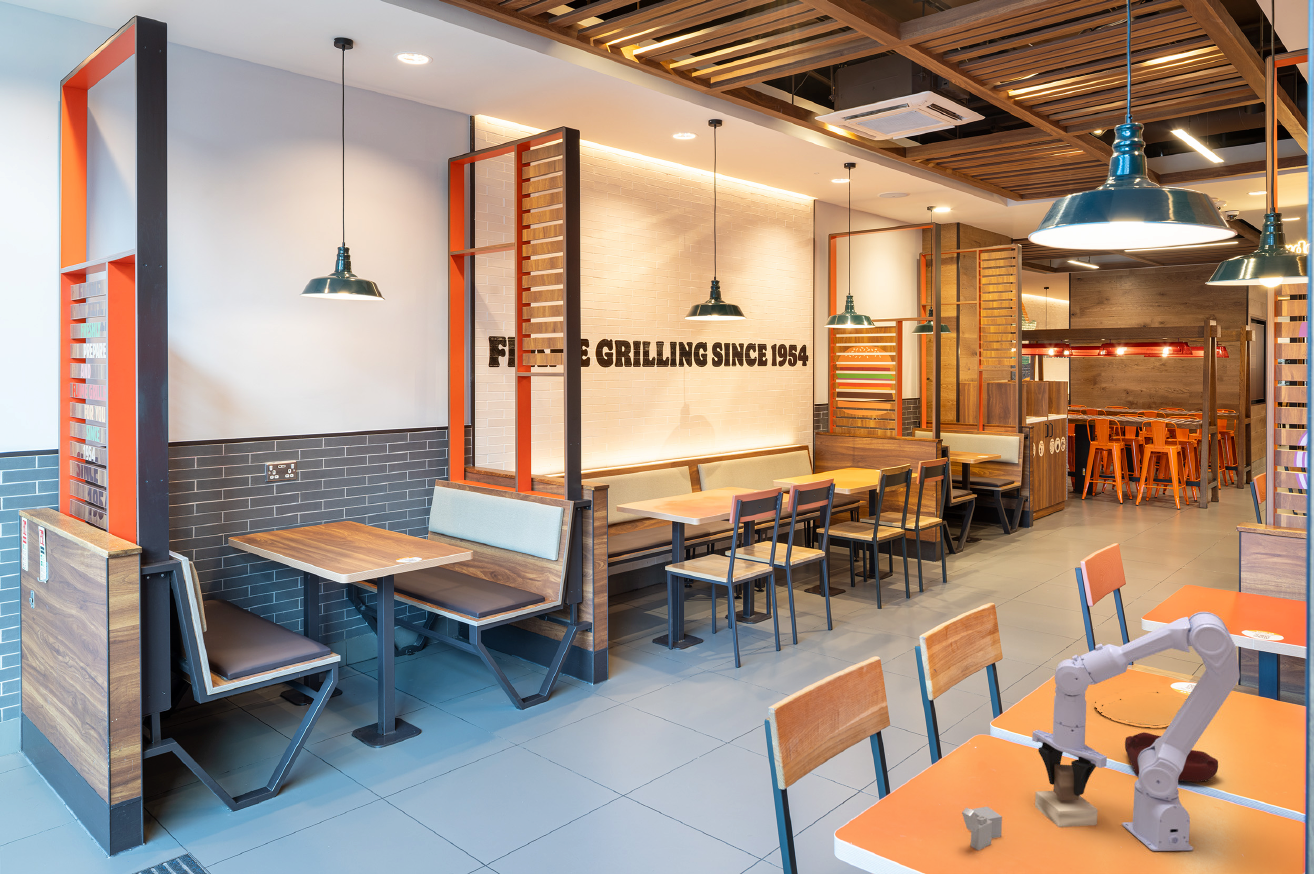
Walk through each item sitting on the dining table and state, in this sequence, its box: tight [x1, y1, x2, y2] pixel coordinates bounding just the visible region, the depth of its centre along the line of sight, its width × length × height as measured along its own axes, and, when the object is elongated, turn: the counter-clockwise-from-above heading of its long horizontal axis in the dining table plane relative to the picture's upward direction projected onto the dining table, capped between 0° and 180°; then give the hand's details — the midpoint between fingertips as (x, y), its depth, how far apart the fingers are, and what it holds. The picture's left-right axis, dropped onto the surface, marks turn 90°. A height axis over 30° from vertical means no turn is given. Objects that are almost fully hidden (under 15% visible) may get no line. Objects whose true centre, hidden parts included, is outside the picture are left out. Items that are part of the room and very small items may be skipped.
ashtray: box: [1124, 732, 1219, 782], centre depth 188 cm, size 18×16×5 cm
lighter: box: [961, 806, 992, 851], centre depth 156 cm, size 7×2×8 cm, turn 125°
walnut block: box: [1052, 764, 1079, 800], centre depth 168 cm, size 4×4×6 cm
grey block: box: [970, 806, 1003, 840], centre depth 161 cm, size 4×4×4 cm
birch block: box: [1034, 790, 1098, 828], centre depth 168 cm, size 8×8×4 cm
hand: (1066, 788), depth 168 cm, fingers closed on walnut block, 5 cm apart
